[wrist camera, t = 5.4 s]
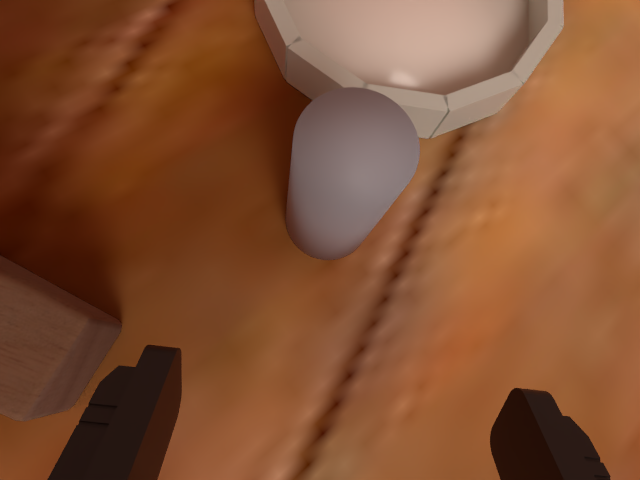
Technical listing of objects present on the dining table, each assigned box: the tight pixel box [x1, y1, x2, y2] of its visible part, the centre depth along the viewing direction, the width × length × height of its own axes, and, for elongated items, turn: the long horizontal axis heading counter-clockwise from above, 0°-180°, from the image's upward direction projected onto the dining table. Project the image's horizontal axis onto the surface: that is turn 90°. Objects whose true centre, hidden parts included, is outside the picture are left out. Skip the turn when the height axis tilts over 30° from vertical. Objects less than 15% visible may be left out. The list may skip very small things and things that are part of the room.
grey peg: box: [286, 87, 420, 260], centre depth 20 cm, size 4×4×9 cm
